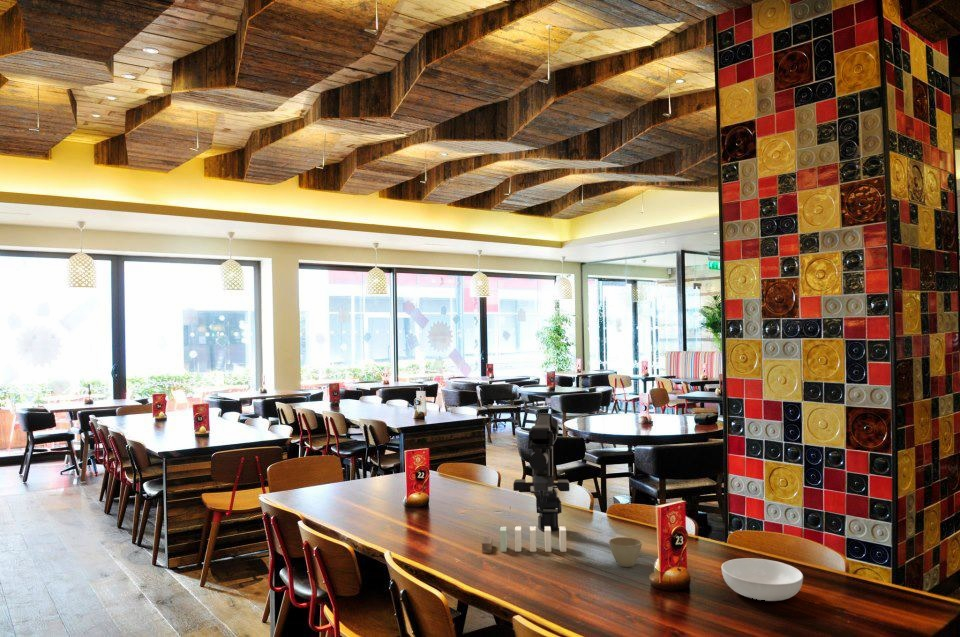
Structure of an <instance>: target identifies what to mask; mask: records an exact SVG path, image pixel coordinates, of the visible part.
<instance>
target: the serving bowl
mask: <svg viewBox="0 0 960 637" xmlns="http://www.w3.org/2000/svg"><path fill="white" fill-rule="evenodd" d="M720 569H721V573H722V577H723V580H724V582H725V583H726V585H727V586H728V587H729V588H730V589H731V590H733V591H734V592H735V593H737V594H739V595H741V596H744V597H746V598H749V599H752V598H753V600H756V599H757V601H761V600H765V601H764V602H777V601H784V600H788V599H790V598H792V597H794V596H796V595H797V594H798V593H799V591H800V590H801V588H802V586H803V582H804V575H803V573H802V572H801V570H799V569H798V568H796V567H794V566H792V565H790V564H788V563H787V564H786V563H784V562H780V561H778V560H777V561H776V560H772V559H771V560H770V559H766V558H765V559H763V558H753V557H751V558H749V557H746V558H745V557H744V558H742V557H741V558H734V559H730V560H727V561H725V562H723V563H722V564H721V568H720Z"/></svg>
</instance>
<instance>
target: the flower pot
mask: <svg viewBox="0 0 960 637" xmlns="http://www.w3.org/2000/svg"><path fill="white" fill-rule="evenodd" d="M608 543H609V547H610V551H611V553H612V557H613V558H614V560H615V562H616V564H618V566H620V567H623V568H624V567H626V568H629V567H633V566H635V564H636V563H637V561H638V559H639V556H640V553H641V550H642V546H643V543H642V540H640V539H637V538H635V537H627V536H626V537H625V536H621V537H620V536H618V537H614V538H613V537H612V538H611V539H609V542H608Z"/></svg>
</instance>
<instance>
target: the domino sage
mask: <svg viewBox="0 0 960 637" xmlns="http://www.w3.org/2000/svg"><path fill="white" fill-rule="evenodd" d="M507 539H508V538H507V526H500V528H499V543H500V544H499V547H500V548H499V550H500V553H501V552H502V553H503V552H504V553H505V552H506V553H507V551H508V550H507V548H508V544H507V541H508V540H507Z"/></svg>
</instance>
